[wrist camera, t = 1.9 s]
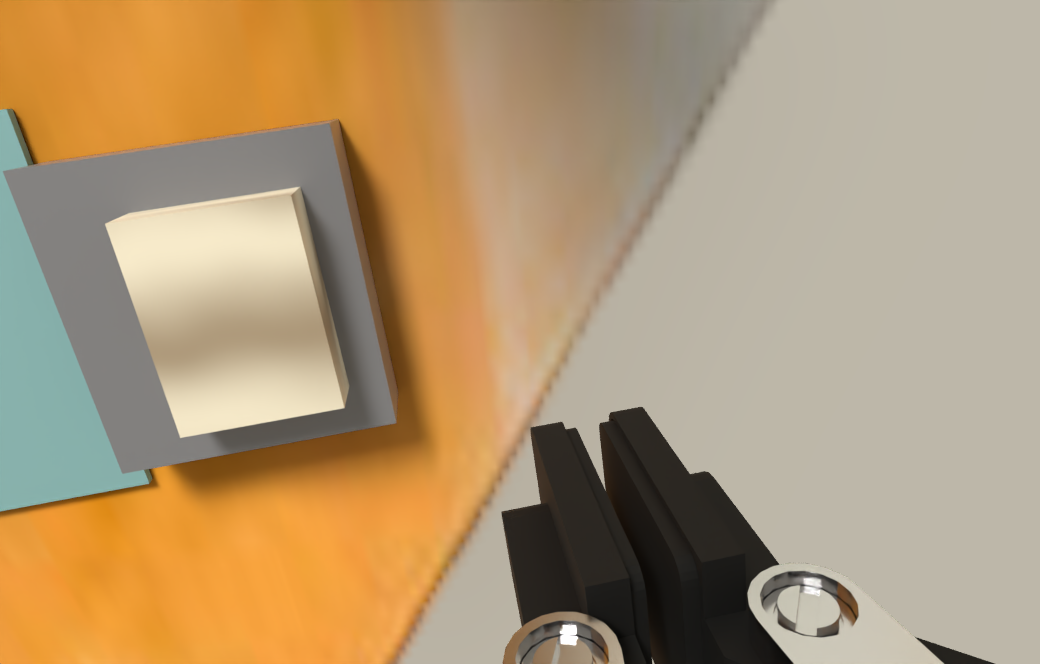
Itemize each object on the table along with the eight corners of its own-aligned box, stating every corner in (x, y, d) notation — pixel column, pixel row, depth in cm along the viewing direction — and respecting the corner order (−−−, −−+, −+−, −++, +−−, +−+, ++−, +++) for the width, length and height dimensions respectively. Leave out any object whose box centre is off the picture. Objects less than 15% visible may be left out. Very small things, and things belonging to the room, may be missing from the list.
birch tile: (128, 213, 24) (105, 223, 22) (300, 186, 25) (290, 195, 23) (196, 413, 27) (180, 438, 25) (349, 386, 28) (344, 408, 26)
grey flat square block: (47, 161, 26) (2, 171, 23) (338, 119, 27) (329, 123, 24) (149, 437, 30) (122, 474, 27) (398, 392, 31) (396, 423, 28)
